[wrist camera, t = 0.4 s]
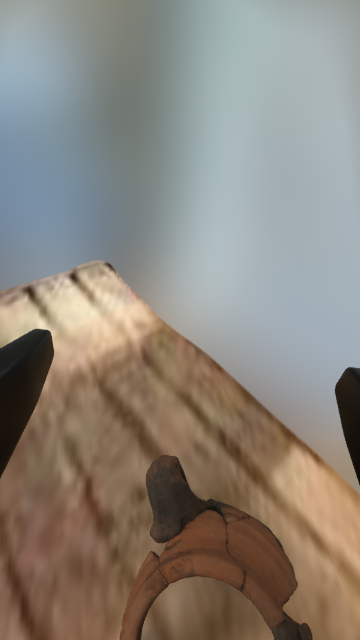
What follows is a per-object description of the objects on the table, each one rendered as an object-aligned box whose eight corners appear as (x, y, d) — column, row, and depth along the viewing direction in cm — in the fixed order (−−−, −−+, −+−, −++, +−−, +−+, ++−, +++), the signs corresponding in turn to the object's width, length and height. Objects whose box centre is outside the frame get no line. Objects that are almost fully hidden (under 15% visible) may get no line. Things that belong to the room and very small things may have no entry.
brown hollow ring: (322, 606, 18) (390, 738, 11) (188, 699, 18) (158, 908, 10) (212, 424, 23) (203, 424, 15) (101, 496, 22) (33, 534, 14)
